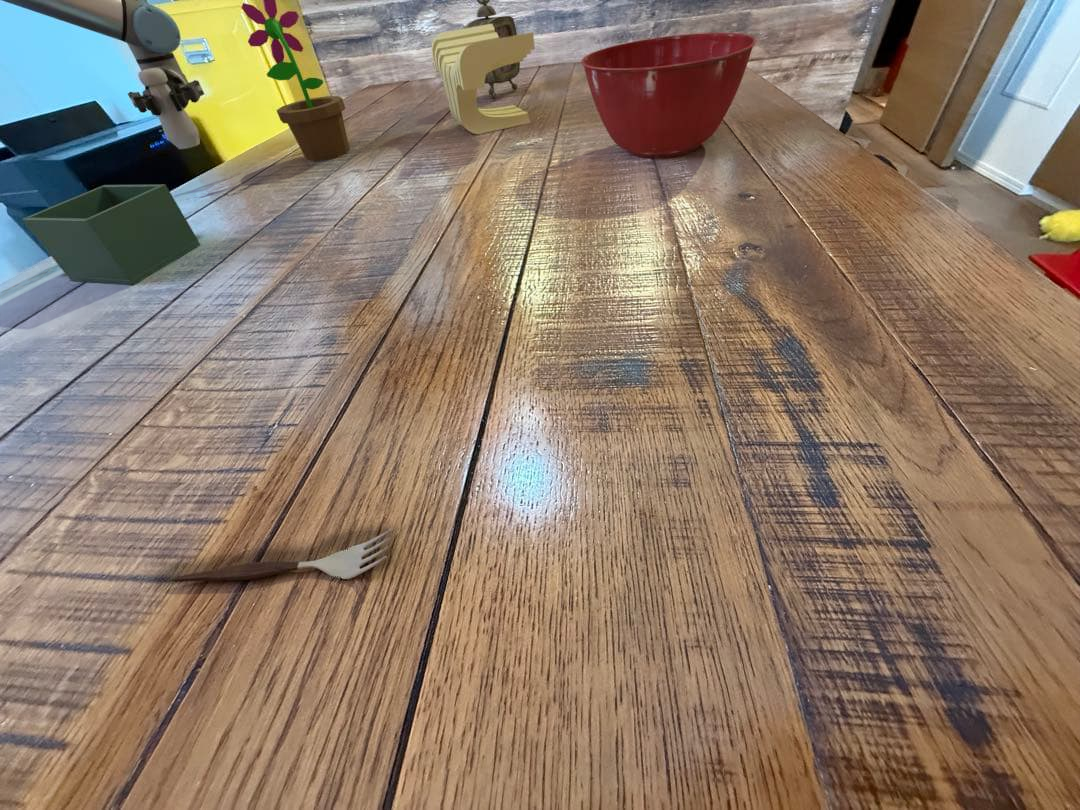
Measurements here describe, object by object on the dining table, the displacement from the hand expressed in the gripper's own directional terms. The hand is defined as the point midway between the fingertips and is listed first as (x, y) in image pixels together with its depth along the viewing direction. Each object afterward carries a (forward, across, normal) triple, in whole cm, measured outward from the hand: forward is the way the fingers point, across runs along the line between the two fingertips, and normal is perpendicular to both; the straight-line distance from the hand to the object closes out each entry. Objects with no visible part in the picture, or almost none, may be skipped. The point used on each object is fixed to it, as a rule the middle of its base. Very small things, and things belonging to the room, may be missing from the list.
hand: (164, 105), depth 92 cm
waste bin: (+26, +12, -17) cm, 33 cm away
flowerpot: (-12, -26, -17) cm, 33 cm away
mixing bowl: (+45, -78, -16) cm, 91 cm away
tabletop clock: (-30, -78, -16) cm, 85 cm away
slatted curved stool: (-1, -63, -16) cm, 65 cm away
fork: (+99, -1, -17) cm, 101 cm away
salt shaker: (-5, 0, -8) cm, 10 cm away
